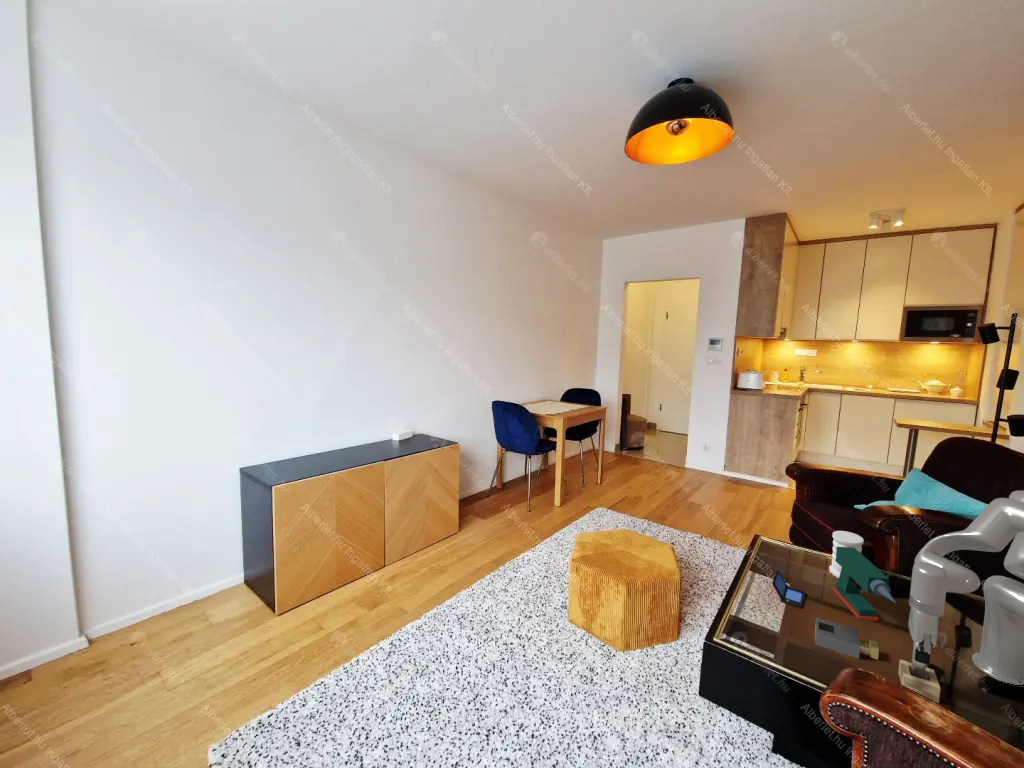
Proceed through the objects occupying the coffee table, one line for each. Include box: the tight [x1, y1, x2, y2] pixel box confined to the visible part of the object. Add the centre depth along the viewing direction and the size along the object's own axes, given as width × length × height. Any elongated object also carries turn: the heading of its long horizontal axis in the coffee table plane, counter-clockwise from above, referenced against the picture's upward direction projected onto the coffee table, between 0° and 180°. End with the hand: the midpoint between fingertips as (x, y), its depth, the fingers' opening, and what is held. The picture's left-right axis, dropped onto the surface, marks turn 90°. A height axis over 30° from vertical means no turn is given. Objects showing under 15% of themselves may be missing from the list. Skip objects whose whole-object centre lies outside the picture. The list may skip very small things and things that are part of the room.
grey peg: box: [911, 640, 927, 679], centre depth 130 cm, size 3×3×13 cm
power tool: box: [832, 547, 897, 622], centre depth 162 cm, size 32×7×20 cm, turn 168°
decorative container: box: [828, 530, 864, 579], centre depth 188 cm, size 12×12×18 cm
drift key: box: [859, 639, 880, 660], centre depth 147 cm, size 12×4×4 cm, turn 55°
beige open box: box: [898, 659, 941, 704], centre depth 131 cm, size 8×8×5 cm
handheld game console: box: [772, 570, 806, 609], centre depth 176 cm, size 12×11×7 cm
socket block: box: [814, 617, 860, 660], centre depth 150 cm, size 12×9×5 cm
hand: (920, 657), depth 130 cm, fingers closed on grey peg, 3 cm apart
